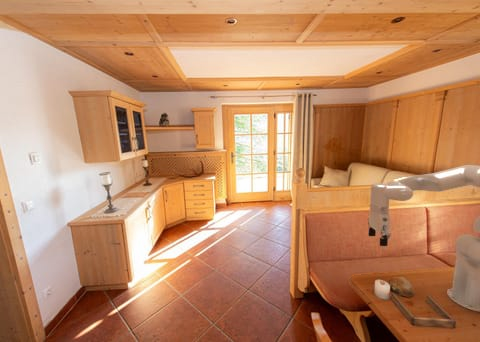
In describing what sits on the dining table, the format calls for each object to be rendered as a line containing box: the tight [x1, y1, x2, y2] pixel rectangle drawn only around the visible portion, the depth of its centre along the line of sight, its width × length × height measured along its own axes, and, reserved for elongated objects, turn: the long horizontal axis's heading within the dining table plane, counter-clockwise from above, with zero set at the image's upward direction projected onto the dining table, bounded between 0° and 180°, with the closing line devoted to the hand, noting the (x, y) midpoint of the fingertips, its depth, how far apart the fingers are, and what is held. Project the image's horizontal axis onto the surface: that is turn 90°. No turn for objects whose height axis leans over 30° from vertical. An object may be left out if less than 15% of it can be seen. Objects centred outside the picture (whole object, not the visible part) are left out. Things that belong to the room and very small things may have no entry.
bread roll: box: [387, 276, 415, 298], centre depth 99 cm, size 10×10×8 cm
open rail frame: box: [390, 292, 457, 329], centre depth 86 cm, size 16×14×3 cm
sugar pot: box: [374, 279, 391, 301], centre depth 96 cm, size 6×6×8 cm
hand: (377, 240), depth 98 cm, fingers open, 9 cm apart
